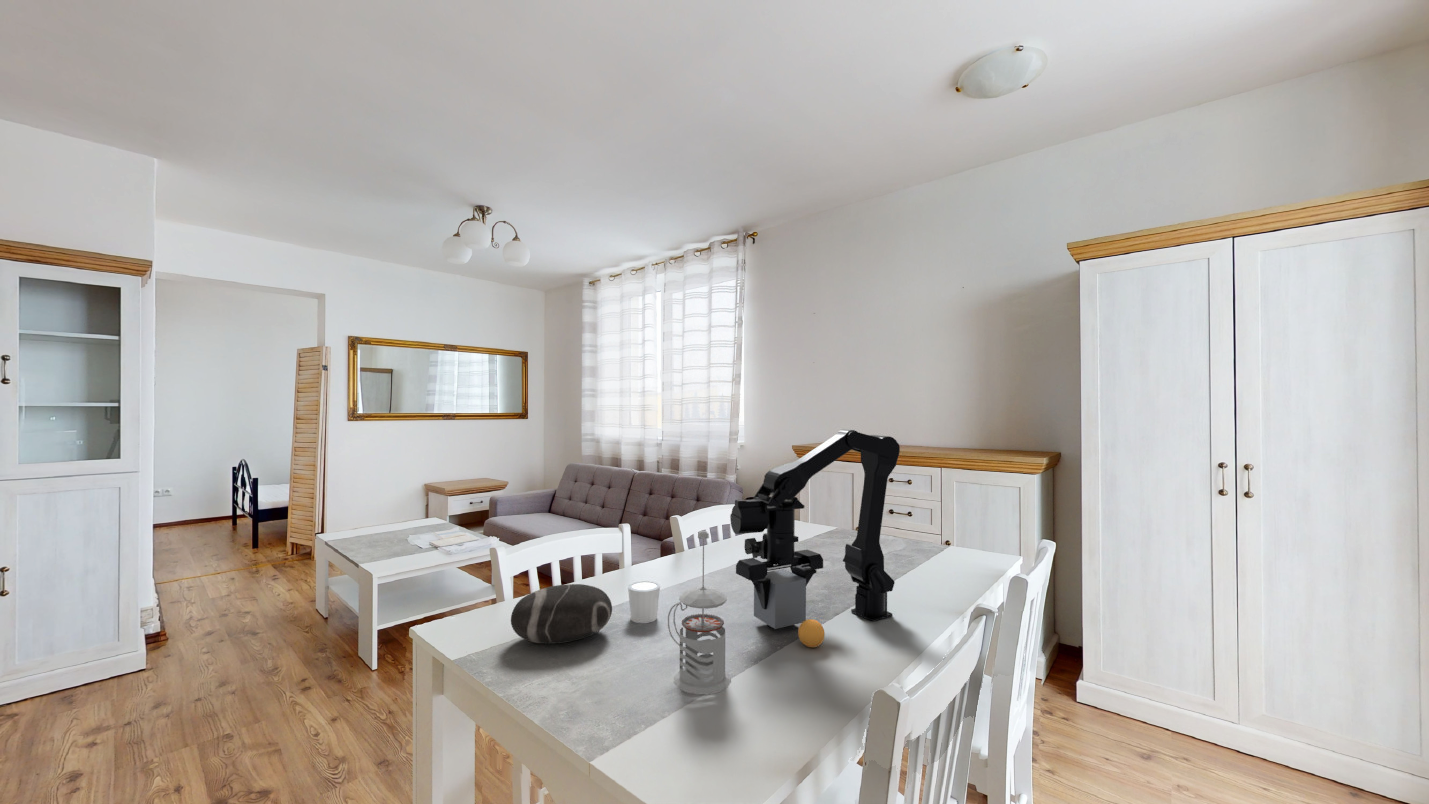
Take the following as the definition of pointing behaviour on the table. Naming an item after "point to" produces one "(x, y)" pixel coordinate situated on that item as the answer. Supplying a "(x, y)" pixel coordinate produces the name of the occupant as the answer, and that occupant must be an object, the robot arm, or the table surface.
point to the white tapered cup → (643, 601)
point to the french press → (701, 641)
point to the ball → (811, 633)
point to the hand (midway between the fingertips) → (780, 605)
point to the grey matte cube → (783, 600)
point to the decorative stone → (561, 613)
